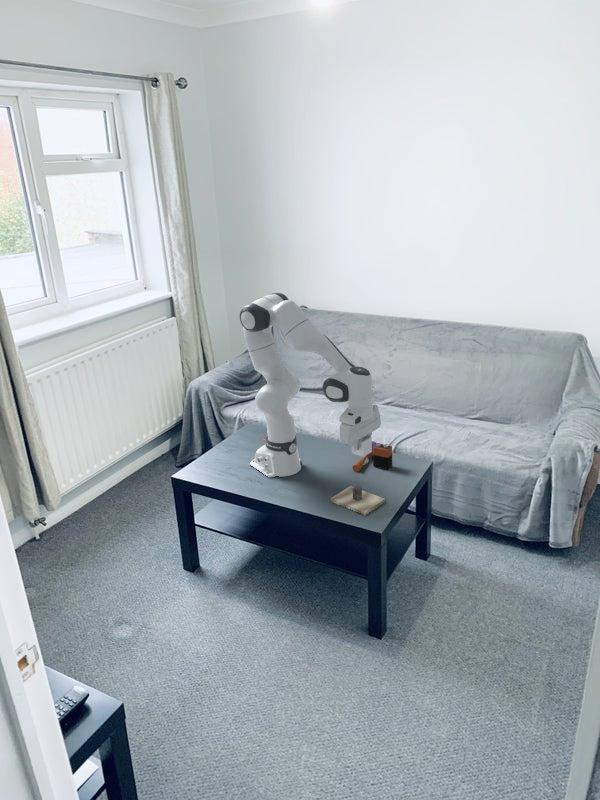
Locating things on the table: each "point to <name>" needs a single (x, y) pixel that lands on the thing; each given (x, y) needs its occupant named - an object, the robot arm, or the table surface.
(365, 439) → the brushed metal cube
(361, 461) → the kendama
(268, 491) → the table surface
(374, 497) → the holder
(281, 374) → the robot arm
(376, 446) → the battery
